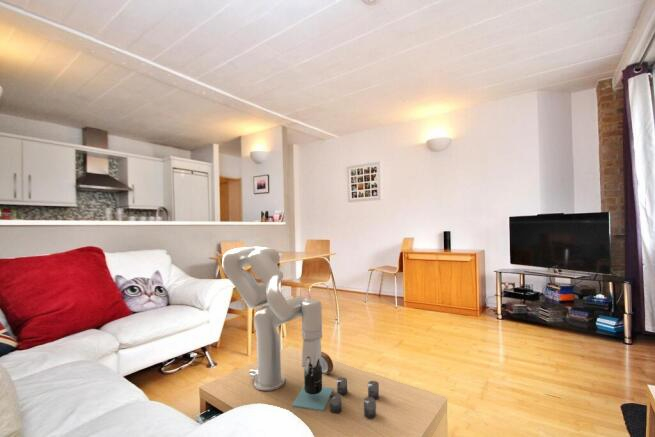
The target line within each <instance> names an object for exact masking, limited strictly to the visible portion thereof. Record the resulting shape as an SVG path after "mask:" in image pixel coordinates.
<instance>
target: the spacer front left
mask: <svg viewBox="0 0 655 437" xmlns="http://www.w3.org/2000/svg"><path fill="white" fill-rule="evenodd" d="M329 406H330V407H329V411H330V413H331V414H333V415H338V414H341V413H342V411H343V410H342V406H343V405H342V396H341V394H339V393H337V392H332V394H331V395H330V398H329Z"/></svg>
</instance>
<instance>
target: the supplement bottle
mask: <svg viewBox="0 0 655 437" xmlns="http://www.w3.org/2000/svg"><path fill="white" fill-rule="evenodd" d="M319 363H320V361H319V359H318V362H317V365H316V366H315V367H314V373H313V375H314V383H315V385H314V387H312V386H306V376H305V371H304V370H303V373H304V374H303V375H304V376H303V377H304V380H303V384H304V385H303V386H304V390H305V392H306V393H308V394H318V393H320V392H321V391H322V387H323V373H322V366H321V365H320V364H319ZM310 366H312V365H310ZM303 369H305V367H303ZM309 370H310V371H312V368H309Z"/></svg>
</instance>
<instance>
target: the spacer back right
mask: <svg viewBox="0 0 655 437" xmlns="http://www.w3.org/2000/svg"><path fill="white" fill-rule="evenodd" d="M379 389H380V388H379V382H378V381H375V380H369V381H368V382H367V397H372V398H374V399H375V400H376V401H377V400H379V399H380V393H379V392H380V390H379Z"/></svg>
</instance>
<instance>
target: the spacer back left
mask: <svg viewBox="0 0 655 437" xmlns="http://www.w3.org/2000/svg"><path fill="white" fill-rule="evenodd" d="M336 387H337V388H336V393H339V394H341V397H344V396H347V395H348V391H349V390H348V379H347V378H346V377H342V376H341V377H338V378H337V379H336Z"/></svg>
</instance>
